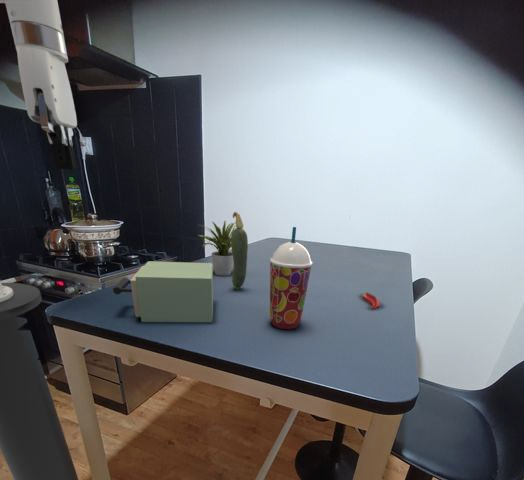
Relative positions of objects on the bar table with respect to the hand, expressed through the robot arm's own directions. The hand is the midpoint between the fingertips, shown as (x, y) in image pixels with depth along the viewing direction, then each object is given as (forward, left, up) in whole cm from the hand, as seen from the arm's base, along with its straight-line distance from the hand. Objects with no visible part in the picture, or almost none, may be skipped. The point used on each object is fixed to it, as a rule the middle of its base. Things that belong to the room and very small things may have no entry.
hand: (66, 169), depth 63 cm
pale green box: (+21, -7, -27) cm, 35 cm away
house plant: (+31, +27, -27) cm, 49 cm away
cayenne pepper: (+71, +1, -27) cm, 76 cm away
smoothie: (+44, -14, -27) cm, 54 cm away
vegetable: (+35, +9, -27) cm, 45 cm away
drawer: (+17, -7, -26) cm, 32 cm away
